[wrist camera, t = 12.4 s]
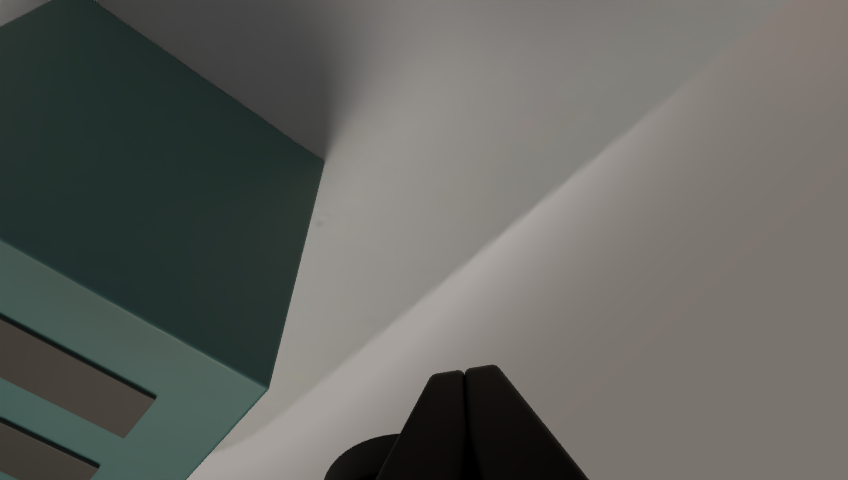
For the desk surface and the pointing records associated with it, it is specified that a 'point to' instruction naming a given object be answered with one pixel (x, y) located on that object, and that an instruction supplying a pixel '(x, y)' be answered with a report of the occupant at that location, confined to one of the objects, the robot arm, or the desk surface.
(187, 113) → the toaster
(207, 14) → the desk surface
